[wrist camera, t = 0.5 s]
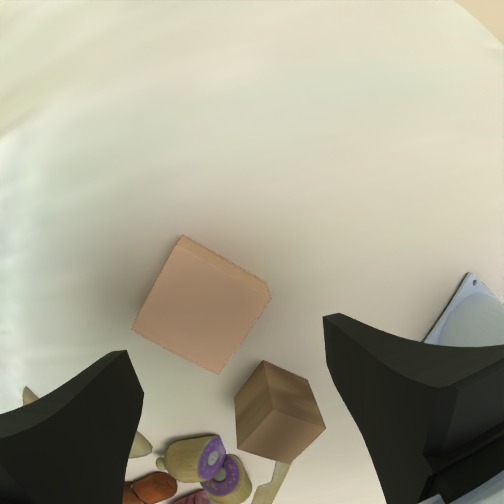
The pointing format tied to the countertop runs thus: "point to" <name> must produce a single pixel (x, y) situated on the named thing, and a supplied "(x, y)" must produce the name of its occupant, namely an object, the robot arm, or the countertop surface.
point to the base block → (201, 306)
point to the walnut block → (276, 414)
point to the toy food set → (194, 472)
